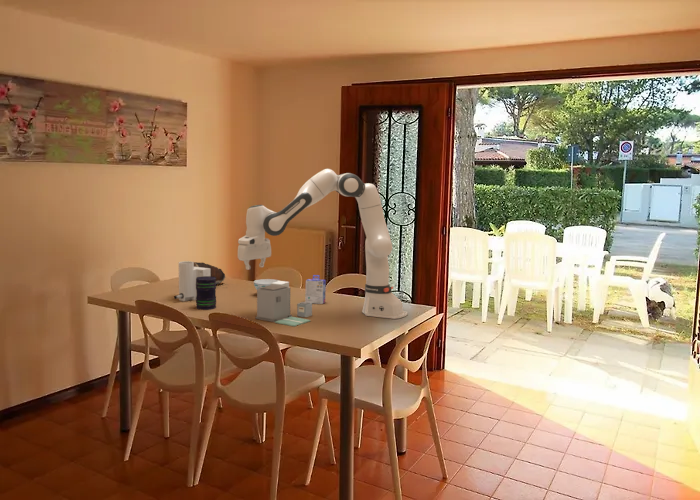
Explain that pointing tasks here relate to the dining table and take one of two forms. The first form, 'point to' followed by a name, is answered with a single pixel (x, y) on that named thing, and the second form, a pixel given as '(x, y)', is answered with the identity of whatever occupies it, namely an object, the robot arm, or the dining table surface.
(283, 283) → the small box
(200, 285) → the storage jar
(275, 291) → the grey latched box
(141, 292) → the dining table surface
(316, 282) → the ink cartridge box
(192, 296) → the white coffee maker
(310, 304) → the block
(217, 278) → the clay pot
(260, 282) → the chinaware
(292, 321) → the mat
